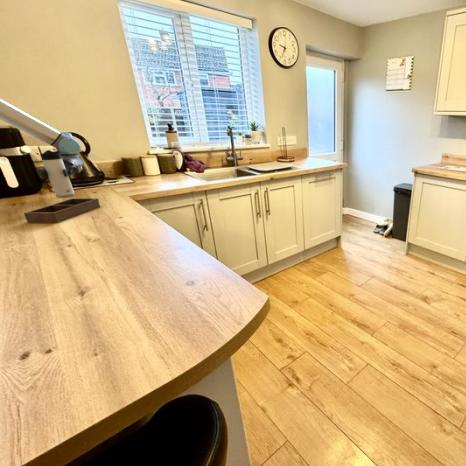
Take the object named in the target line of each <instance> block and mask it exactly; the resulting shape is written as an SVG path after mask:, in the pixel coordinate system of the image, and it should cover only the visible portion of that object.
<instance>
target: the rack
mask: <svg viewBox="0 0 466 466" xmlns="http://www.w3.org/2000/svg"><path fill="white" fill-rule="evenodd" d="M99 208H101V204H100V201H99V198H94V197H93V198H92V197H91V198H82V197H81V198H79V197H78V198H74V197H71V198H68V199H66V200H62V201H59V202H56V203H53V204H49V205H46V206H43V207H38V208H36V209H32V210H30V211H26V212H23V215H24V217H25V219H26V222H27V224H59V223H62V222H64V221H67V220H70V219H72V218H75V217H77V216H80V215H83V214H85V213H86V214H87V213H89V212H91V211H94V210H96V209H99Z"/></svg>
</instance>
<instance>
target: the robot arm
mask: <svg viewBox="0 0 466 466" xmlns="http://www.w3.org/2000/svg"><path fill="white" fill-rule="evenodd" d="M0 120H1V121H3V122H5V123H6V124H9V125H10V126H12V127H14V128H16V129H17V130H20V131H22V132H23V133H26V134H28V135H30V136H32V137H33V138H35V139H37V140H39V141H41V142H43V143H44V144H47V145H49V146H51V147H53V148H55V150H56V151H60V155H61V158H62V160H63V163H64V166H65V168H66V169H64V170H63V173H64V176H65V177H67V176H68V177H69V176H72V175H74V174H75V173H76V174H80V173H81V172H82V171H84V169H83V165H84V163H83V160H82V159H81V158H80V156H79V153H80V151H81V149H82V146H81V144H80V142H79V141H78V140H77V139H75V138H74V137H73V135H72V133H71V132H68V131H60V130H57V129H56V128H54V127H52V126H51V125H49V124H47V123H45V122H43V121H42V120H40V119H38V118H36V117H34V116H33V115H31V114H29V113H27V112H26V111H24V110H22V109H20V108H18V107H17V106H15V105H14V104H12V103H10V102H7V101H6V100H4V99H2V98H0ZM36 172H37V175H38V176H41V178H42V179H46V178H49V177H48V174H47V172H46V169H45V166H43V167H40V168H37V169H36Z"/></svg>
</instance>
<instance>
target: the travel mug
mask: <svg viewBox="0 0 466 466" xmlns="http://www.w3.org/2000/svg"><path fill="white" fill-rule="evenodd" d="M39 156H40V159H41V162H42V164H43V167H45V169H46V172H47V174H48V177H47V178H48V179H49V181H50V184H51V187H52V189H53V192H54V195H55V197H56V198H57V199H67V198H68V199H69V198H74V197H75V196H76V193H75V190H74V188H73V185H72V182H71V179H70V177H69V175H68V176H67V177H65V176H64V173H63V170H64V169H66V168H65V166H64V163H63V160H62V158H61V155H60V151H57V150H56V151H49V152H43V153H40V155H39Z"/></svg>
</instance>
